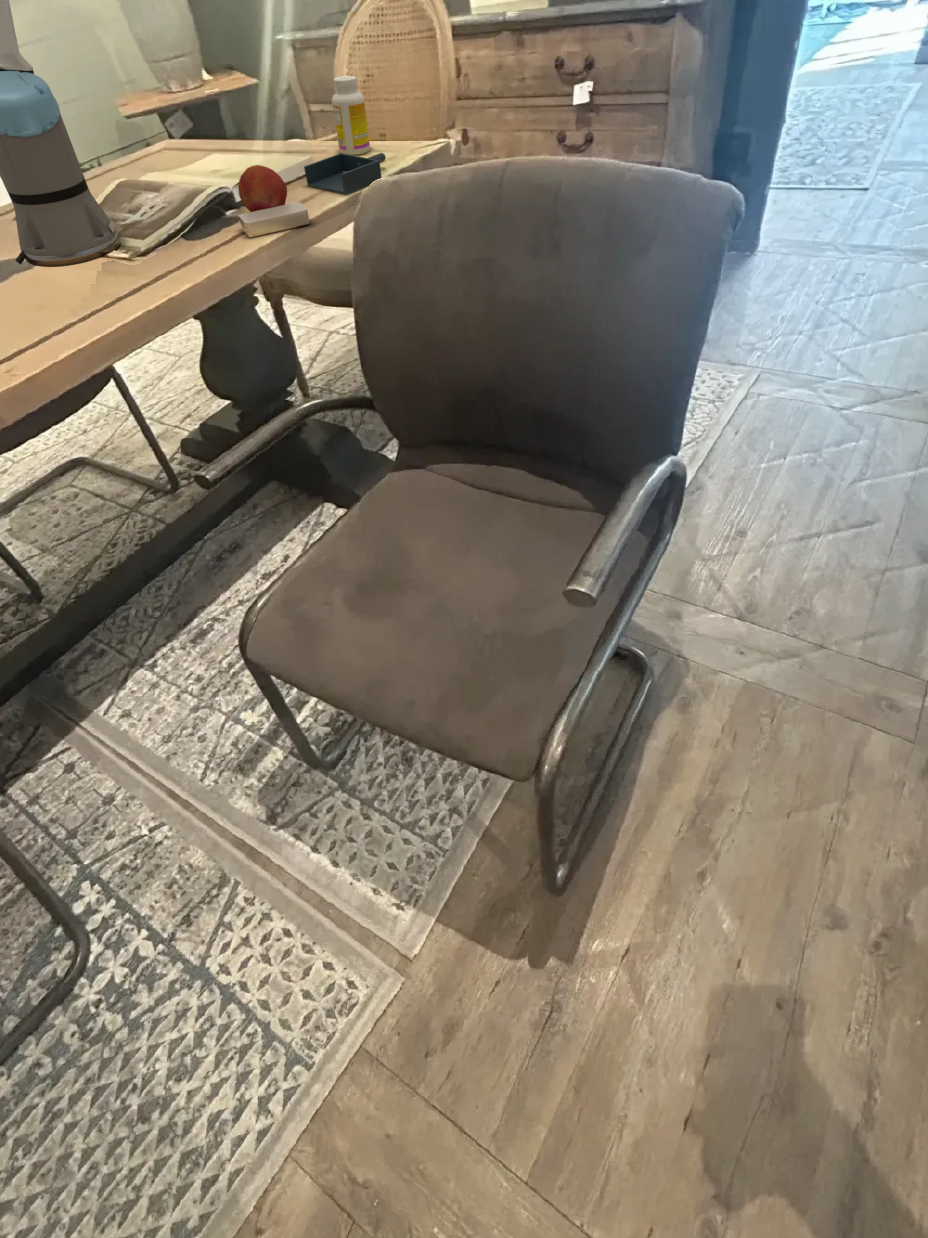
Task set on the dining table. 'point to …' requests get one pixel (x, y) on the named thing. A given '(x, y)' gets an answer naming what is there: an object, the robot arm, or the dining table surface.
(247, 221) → the multiport hub
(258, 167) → the fruit
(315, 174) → the scoop
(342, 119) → the supplement bottle
